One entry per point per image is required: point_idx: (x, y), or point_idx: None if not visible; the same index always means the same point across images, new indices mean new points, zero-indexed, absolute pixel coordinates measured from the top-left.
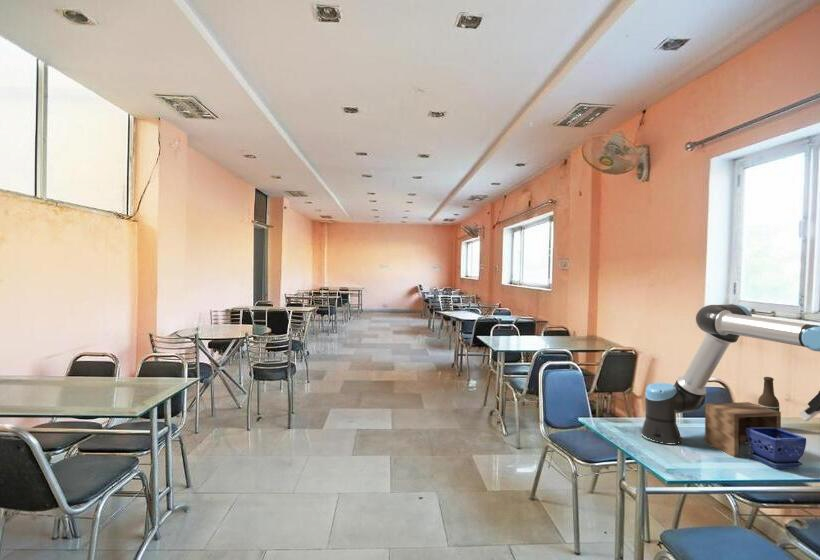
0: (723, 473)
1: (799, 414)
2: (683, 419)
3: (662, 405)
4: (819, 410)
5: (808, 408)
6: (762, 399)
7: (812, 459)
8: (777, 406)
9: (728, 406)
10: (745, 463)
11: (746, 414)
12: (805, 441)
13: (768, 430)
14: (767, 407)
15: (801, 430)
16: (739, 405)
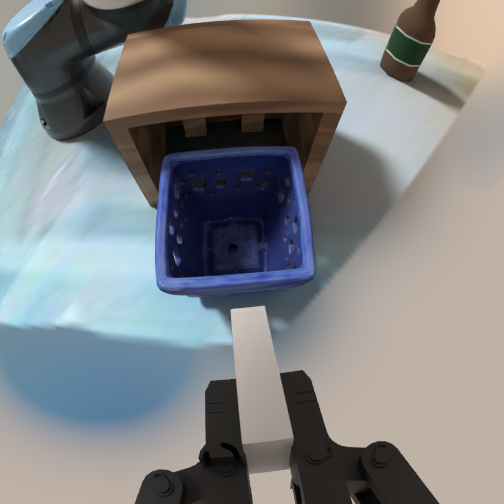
0: (41, 306)
1: (231, 315)
2: (239, 19)
3: (19, 67)
4: (274, 465)
5: (207, 425)
6: (405, 16)
7: (373, 226)
8: (427, 41)
9: (180, 46)
10: (144, 248)
11: (164, 113)
12: (307, 281)
13: (265, 157)
14: (405, 36)
15: (449, 93)
16: (239, 37)
